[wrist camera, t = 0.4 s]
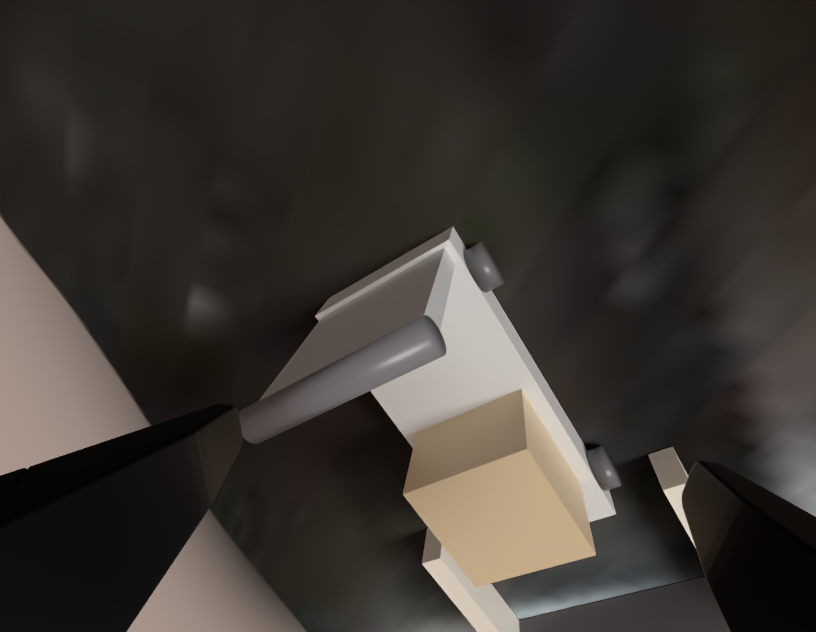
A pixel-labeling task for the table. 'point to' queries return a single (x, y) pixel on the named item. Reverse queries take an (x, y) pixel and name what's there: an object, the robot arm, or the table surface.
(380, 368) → the trolley
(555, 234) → the table surface
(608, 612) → the bay
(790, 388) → the table surface
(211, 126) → the table surface
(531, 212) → the table surface
